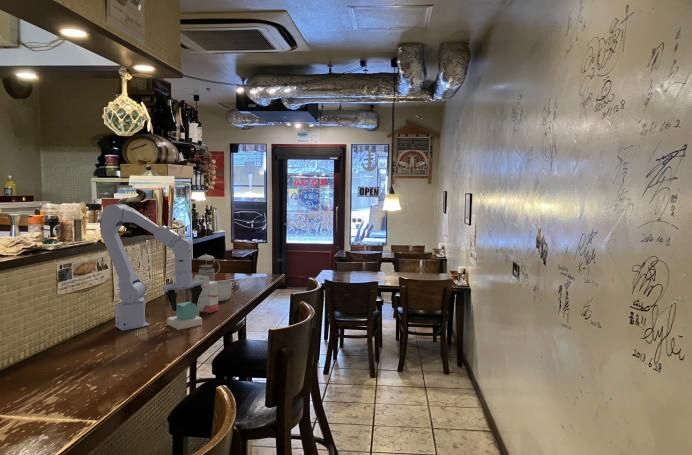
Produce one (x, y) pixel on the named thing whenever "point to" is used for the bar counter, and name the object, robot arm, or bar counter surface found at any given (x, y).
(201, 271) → the french press
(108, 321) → the bar counter surface
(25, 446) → the bar counter surface
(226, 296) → the ramekin
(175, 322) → the cream slab
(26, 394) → the bar counter surface
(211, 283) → the ink cartridge box
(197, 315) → the sage block
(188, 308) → the teal cube
